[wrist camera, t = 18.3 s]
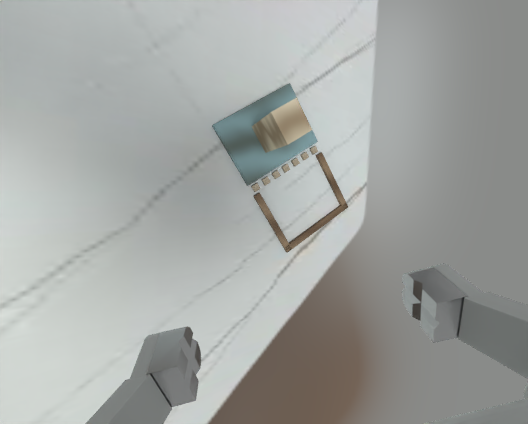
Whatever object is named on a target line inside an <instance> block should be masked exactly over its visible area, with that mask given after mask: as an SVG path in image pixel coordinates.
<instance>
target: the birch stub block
mask: <svg viewBox="0 0 528 424" xmlns="http://www.w3.org/2000/svg"><path fill="white" fill-rule="evenodd" d="M252 129H253V131H254V132H255V134H256V136H257V138H258V140H259V142H260V143H261V145H262V147H263V149H264V151H265V153H267V152H270V151H272V150H275V149H278V148H281V147H283V146H286V145H288V144H290V143H292V142H293V141H295V140H297V139H298V138H300V137H301V136H303V135H305V134H306V133H308V132H310V131H311V130H312V129H311V127H310V125H309V122H308V120H307V118H306V116H305V114H304V112H303V110H302V108H301V106H300V104H299V102H298V100H297V98H295V99H293V100H292V101H290V102H288V103H286V104H284V105H283V106H281V107H279V108H277V109H276V110H274V111H272V112H270V113H269V114H268V115H266V116H265V117H264V118H262V119H261V120H260V121H258V122H257V123H256V124H254V125H253V126H252Z"/></svg>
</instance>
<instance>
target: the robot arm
mask: <svg viewBox="0 0 528 424" xmlns="http://www.w3.org/2000/svg"><path fill="white" fill-rule="evenodd" d="M402 283H403V284H404V285H405V286H406V287H405V288H404V289H403V291H402V299H403V302H404V305H405V307H406V309H407V310H408V312H409V313H410V314H411V316H412V317H414V318H416V319H418V320H420V327H421V328H422V330H423V331H424V332H425V333H426V334H427V336H428V337H429V338H430V339H431V341H432V342H433V343H435V342H439V341H444V340H449V339H454V338H458V339H459V340H461V341H463V342H464V343H466V344H468V345H470V346H471V347H473V348H475V349H477V350H478V351H480V352H482V353H484V354H485V355H487V356H489V357H490V358H492V359H494V360H496V361H497V362H499V363H501V364H503V365H504V366H506V367H508V368H510V369H511V370H513V371H515V372H516V373H518V374H520V375H521V376H523V377H525V378H527V379H528V305H527V304H524V303H521V302H518V301H515V300H512V299H509V298H506V297H503V296H499V295H496V294H493V293H491V292H486V293H484V292H483V291H481V290H480V289H479V288H477V287H476V286H475V285H474V284H472V283H471V282H470V281H468V280H467V279H466V278H465V277H463V276H462V275H461V274H459V273H458V272H457V271H456V270H454V269H453V268H452V267H450V266H449V265H447V264H440V265H436V266H432V267H428V268H424V269H420V270H416V271H412V272H409V273H405V274H403V276H402ZM192 336H193V332H192V330H191V328H190V327H183V328H178V329H174V330H169V331H164V332H161V333H156V334H152V335H148V336H147V337H146V338H145V340H144V343H143V346H142V348H141V351H140V353H139V356H138V359H137V361H136V364H135V367H134V369H133V372H132V374H131V377H130V379H128V380H125V381H124V382H123V383H122V385H121V386H120V387H119V388H118V389H117V390H116V391H115V392H114V393H113V394H112V395H111V397H110V398H109V399H108V400H107V401H106V402H105V403H104V404H103V405H102V406H101V407H100V409H99V410H98V411H97V412H96V413H95V414H94V415H93V416H92V417H91V418H90V419H89V421H88V422H87V423H86V424H163V423H164V421H165V420H166V418H167V416H168V415H169V413H170V411H171V410H172V408H171V407H174V406H178V405H182V404H185V403H189V402H193V401H196V396H197V389H198V379H197V377H196V374H197V372H198V371H199V369H200V366H201V352H200V348H199V345H198V342H197V341H196V340H194V339H192ZM524 398H525V399H523V400H519V401H515V402H511V403H507V404H503V405H499V406H494V407H491V408H486V409H482V410H478V411H474V412H470V413H466V414H461V415H458V416H453V417H449V418H445V419H441V420H437V421H433V422H429V423H425V424H528V382H527V384H526V388H525V390H524Z"/></svg>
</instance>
